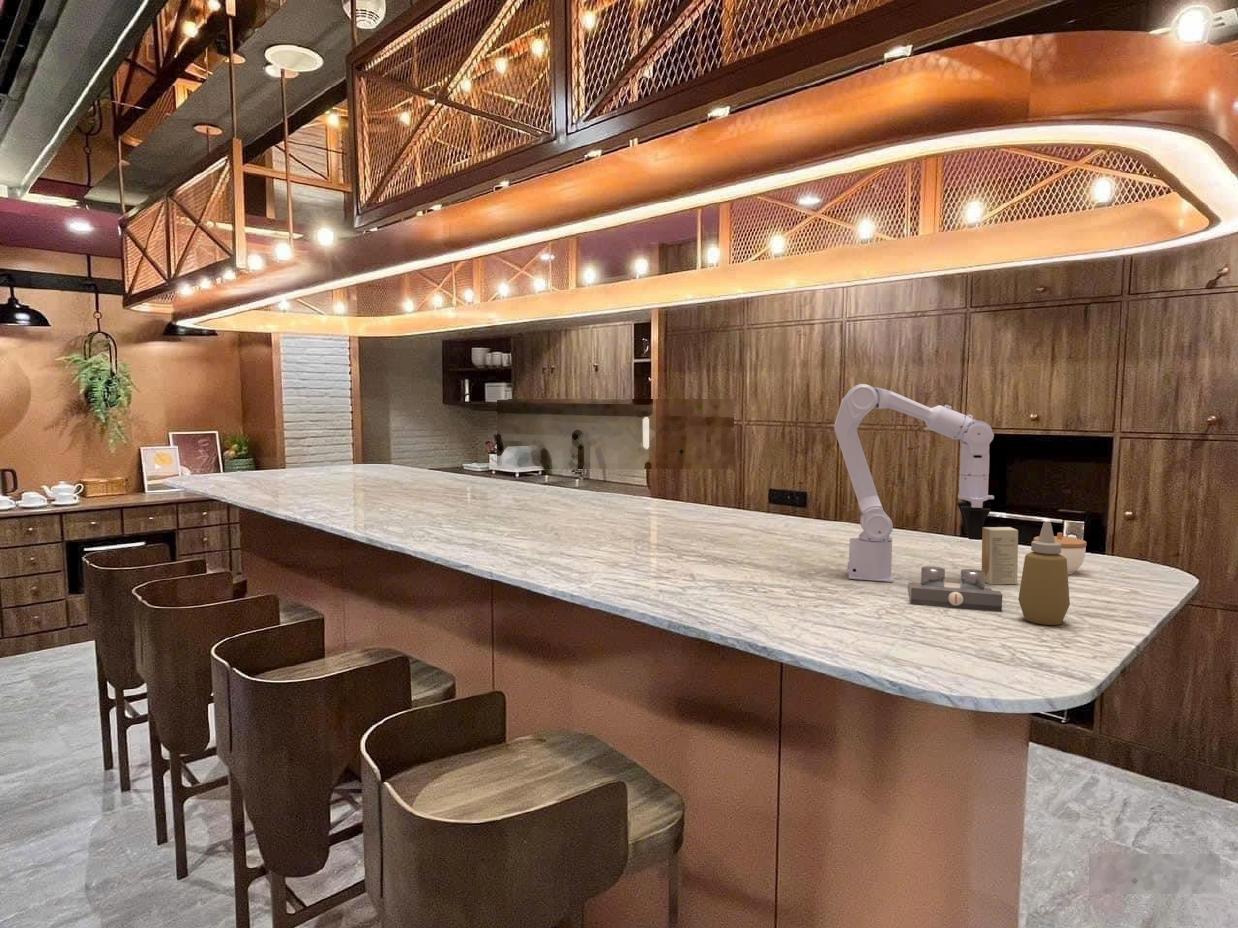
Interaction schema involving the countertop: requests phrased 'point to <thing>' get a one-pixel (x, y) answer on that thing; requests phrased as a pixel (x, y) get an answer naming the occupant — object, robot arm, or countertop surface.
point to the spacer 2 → (972, 579)
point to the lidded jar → (1071, 551)
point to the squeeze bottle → (1044, 581)
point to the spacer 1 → (932, 576)
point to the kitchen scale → (955, 597)
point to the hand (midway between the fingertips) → (971, 536)
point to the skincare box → (1000, 555)
